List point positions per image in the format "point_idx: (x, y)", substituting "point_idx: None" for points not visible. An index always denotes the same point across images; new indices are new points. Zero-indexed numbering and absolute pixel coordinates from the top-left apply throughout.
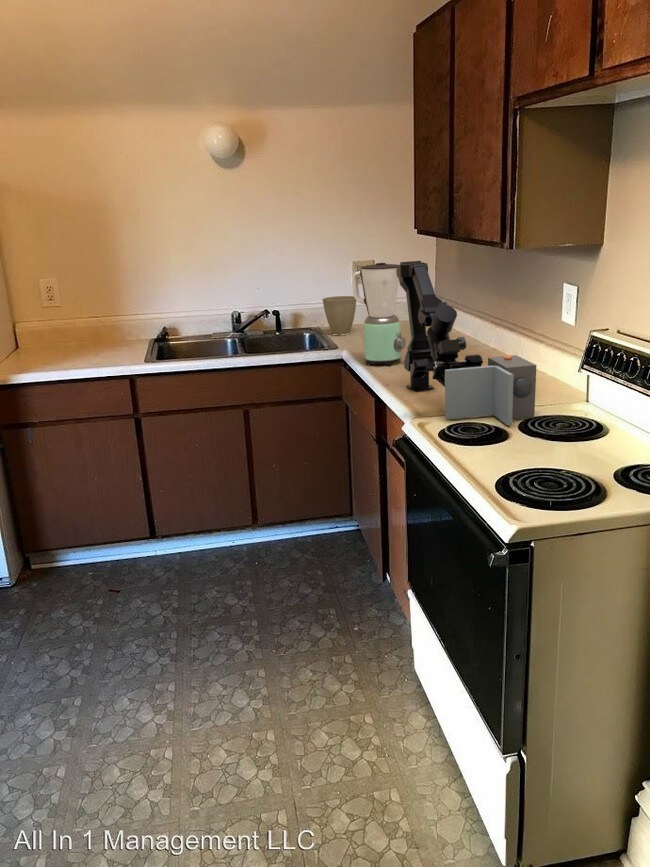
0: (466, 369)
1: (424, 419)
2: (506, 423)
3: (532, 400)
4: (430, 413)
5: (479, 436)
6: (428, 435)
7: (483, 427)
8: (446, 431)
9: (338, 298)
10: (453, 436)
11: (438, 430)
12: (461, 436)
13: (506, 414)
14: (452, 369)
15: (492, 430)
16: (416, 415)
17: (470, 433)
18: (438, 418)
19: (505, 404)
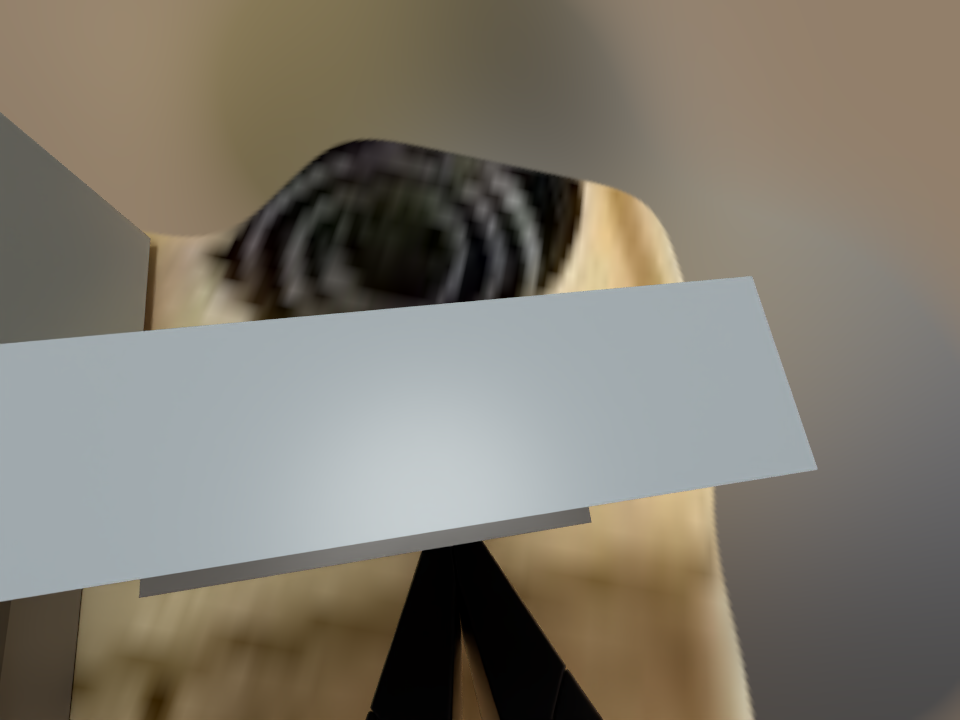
0: (8, 350)
1: (642, 511)
2: (144, 249)
3: None
4: (593, 671)
5: (375, 143)
6: (629, 210)
7: (303, 273)
8: (530, 250)
9: None
10: (506, 170)
11: (572, 275)
12: (466, 162)
13: (97, 215)
14: (547, 435)
15: (271, 213)
16: (697, 628)
17: (409, 194)
18: None
19: (24, 191)
